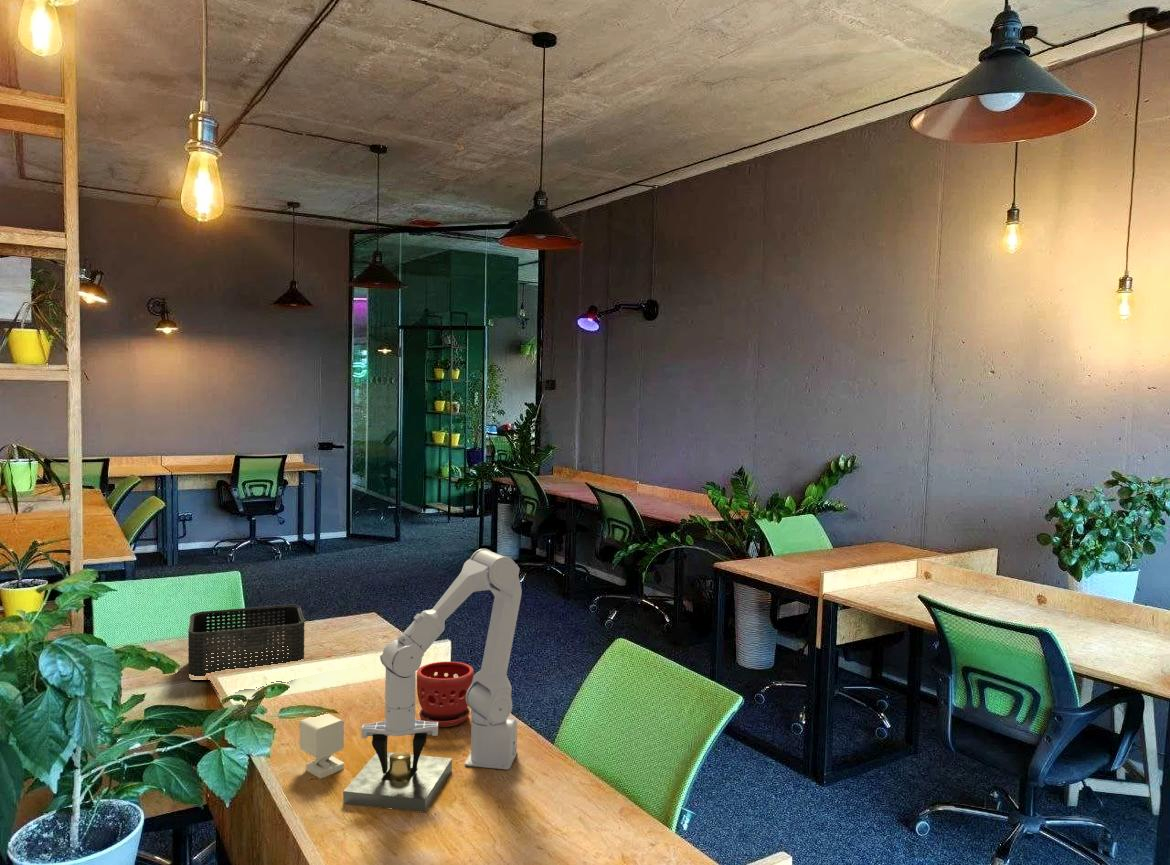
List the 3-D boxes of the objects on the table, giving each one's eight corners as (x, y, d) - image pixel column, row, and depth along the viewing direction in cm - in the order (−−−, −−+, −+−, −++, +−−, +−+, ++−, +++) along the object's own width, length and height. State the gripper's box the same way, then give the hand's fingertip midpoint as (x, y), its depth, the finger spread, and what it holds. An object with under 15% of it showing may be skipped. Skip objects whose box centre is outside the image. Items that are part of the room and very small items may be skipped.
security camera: (326, 756, 169) (326, 710, 168) (346, 768, 164) (346, 720, 163) (299, 768, 164) (299, 720, 163) (318, 779, 159) (318, 730, 158)
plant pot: (481, 724, 185) (482, 674, 185) (425, 735, 179) (426, 683, 178) (462, 703, 197) (462, 655, 196) (409, 713, 191) (409, 664, 190)
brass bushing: (410, 780, 160) (410, 751, 159) (410, 790, 156) (410, 760, 155) (389, 781, 159) (390, 752, 159) (389, 792, 155) (389, 762, 155)
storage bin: (299, 647, 234) (299, 602, 233) (306, 670, 216) (305, 621, 215) (190, 659, 222) (189, 612, 221) (187, 685, 204) (186, 634, 203)
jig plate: (451, 770, 164) (451, 758, 164) (425, 812, 148) (425, 799, 148) (377, 763, 166) (377, 751, 166) (343, 803, 151) (343, 791, 150)
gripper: (439, 694, 161) (438, 759, 162) (365, 695, 159) (365, 761, 160) (437, 708, 154) (436, 777, 155) (359, 710, 152) (359, 779, 153)
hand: (399, 770), depth 157 cm, fingers open, 5 cm apart
